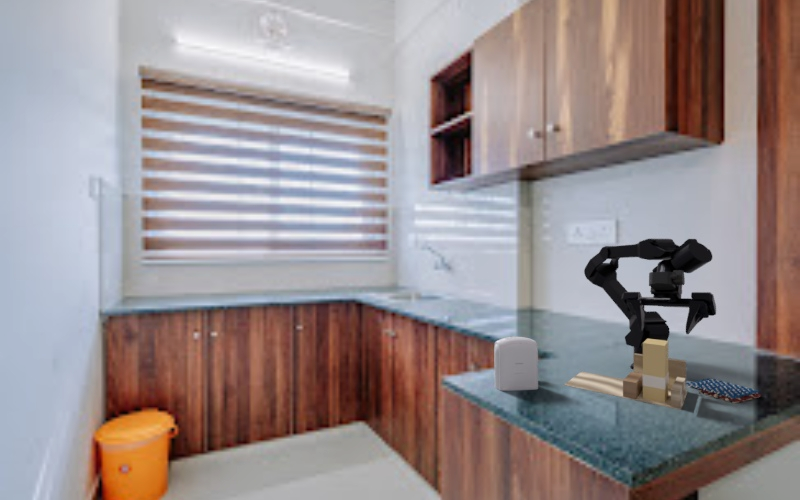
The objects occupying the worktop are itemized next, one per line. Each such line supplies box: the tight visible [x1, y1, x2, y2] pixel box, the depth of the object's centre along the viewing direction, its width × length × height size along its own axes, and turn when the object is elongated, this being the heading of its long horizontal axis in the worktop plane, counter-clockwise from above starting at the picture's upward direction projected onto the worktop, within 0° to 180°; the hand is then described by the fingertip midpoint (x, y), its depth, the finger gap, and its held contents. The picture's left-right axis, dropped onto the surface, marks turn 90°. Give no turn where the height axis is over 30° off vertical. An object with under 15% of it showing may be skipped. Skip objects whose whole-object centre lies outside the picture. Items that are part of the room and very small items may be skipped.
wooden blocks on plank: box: [563, 353, 688, 411], centre depth 93 cm, size 14×23×8 cm, turn 50°
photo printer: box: [493, 336, 539, 392], centre depth 94 cm, size 10×4×12 cm, turn 96°
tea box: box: [643, 338, 669, 403], centre depth 88 cm, size 6×4×12 cm
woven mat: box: [686, 378, 762, 404], centre depth 92 cm, size 10×11×2 cm
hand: (663, 331), depth 94 cm, fingers open, 9 cm apart
